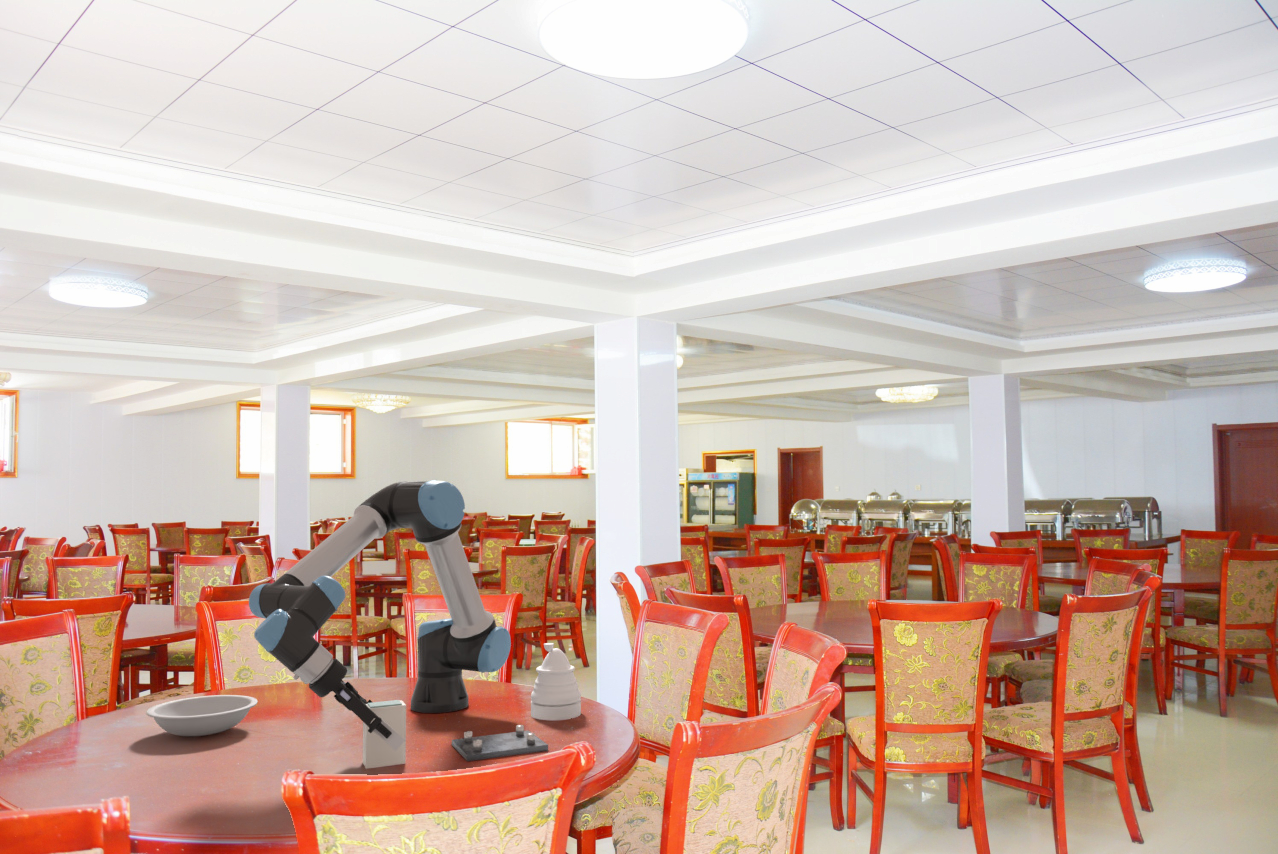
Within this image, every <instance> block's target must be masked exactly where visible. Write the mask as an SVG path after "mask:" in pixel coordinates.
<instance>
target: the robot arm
mask: <svg viewBox="0 0 1278 854" xmlns="http://www.w3.org/2000/svg"><path fill="white" fill-rule="evenodd" d="M465 509H466V504H465V500H464V497H463V494H462V492H461V491H460V490H459V489H458V487H457V486H456V485H454V484H453V483H451V482H449V481H445V480H437V479H432V480H423V481H422V480H417V481H414V480H413V481H398V482H394V483H392V484H389V485H387V486H385V487H383V488H381V489H380V490H378V491H377V492H375V493H374V494H372V495H371V496H370V497H368V498H367V499H365V500H364V501H363V502H362V503H361V504H359V505H358V506H357V507H356V508H354V511H353V516H351V517H350V519H348V520H347V521H346V522H344V523H343V524H342V525H341V526H340V527H338V528H337V529H336V530H334V531H333V533H332V534H331V533H330V535H329V536H328V537H326V538H325V539H324V540H323V541H321V542H320V543H319V544H318V545H316V547H315V548H314V549H312V550H311V551H310V552H308V553H307V554H306V555H305V556H304V557H303V558H301V559H300V560H299V561H298V562H297V563H295V564H294V565H293V566H292V567H290V568H289V569H288V570H287V571H286V572H285V573H283V575H281V576H280V577H279V578H278V579H276V580H275V581H273V582H272V583H271V582H267V583H262V584H259V585H257V586H256V587H254V588H253V589H252V591H251V592H250V593H249V598H248V607H249V610H250V612H251V613H252V615H254V616H256V618H257V617H258V618H260V619H264V620H263V621H262V622H261V623H260V624H259V625H258V626H257V628H256V629H255V631H254V632H253V633H254V634H253V635H254V636H253V637H254V639H255V640H256V641H257V642H258V643H259V645H260V646H261V647H263V649H264V650H265V652H267V653H269V654H270V655H272V656H273V657H274V658H275V659H276V660H277V661H278V662H279V663H280V664H282V665H283V666H284V667H286V668H287V669H288V670H289V671H290V672H291V673H292V674H294V675H293V679H294V680H296V681H297V680H298V679H299V680H300V681H301V682H303V683H304V684H305V685H308V688H309V689H310V690H311V691H312V692H313V693H314V694H315V695H316V696H317V697H319V698H324V697H326V696H328V695H329V694H330V693H332V692H333V693H334V695H333V697H334V698H335V700H336V701H337V702H338V703H339V704H341V705H342V706H344V707H345V708H346V710H348V711H351V712H352V713H353V714H354V715H355V716H357V718H358V719H360V720H361V721H362V723H363V722H364V723H365V724H366V725H367V726H368V727H369V730H368V732H370V733H372V732H373V731H374V732H375V733H376V734H377V735H378V736H379V737H381V738H382V739H383V740H384V741H385V742H386V743H387V744H388V745H390V746H391V747H392V748H393V749H394V750H395V751H396V750H397V749H398V748H399V747H400V746H401V745H402V743H403V742H404V741H405V739H404V738H403V737H401V736H400V735H399V734H398V733H397V732H396V731H395V730H394V729H393V728H391V727H390V726H389V725H388V724H387V723H386V722H385V721H384V720H383V719H382V720H381V718H379V717H378V716H377V715H376V714H375V713H374V712H373V711H372V710H371V709H370V708H369V707H368V706H367V705H366V704H368V703H372V702H373V701H372V700H371V699H369V700H367V699H366V698H364V697H362V695H361V694H360V693H359V692H358V690H357V689H356V688H355V687H354V686H353V685H352V683H350V682H349V681H347V682H345V681H344V680H343V679H344V678H345V677H346V676H347V673H348V668H347V667H346V666H345V665H344V664H342V662H340V661H339V660H338V659H337V658H333V657H334V655H333V654H332V653H331V652H330V651H328V649H327V648H325V646H323V644H321V643H320V642H319V641H317V640H316V638H315V637H314V636H316V634H317V633H318V632H319V630H320V629H321V628H322V627H323V626H324V625H325V623H327V621H328V620H330V618H331V617H332V616H333V615H335V613H336V612H337V611H338V608H339V607H340V606H341V605H342V603H344V601H345V599H346V591H345V589H344V587H343V586H342V584H341V583H340V582H339V581H337V580H336V579H335V578H333V576H334V575H335V574H336V573H338V572H339V570H341V569H342V568H344V566H346V564H347V563H349V562H350V561H351V560H352V559H354V557H355V556H357V555H358V554H359V553H360V552H361V551H362V550H363V549H364V548H366V547H367V546H368V545H369V544H371V542H372V541H373V540H374V539H381V538H382V539H383V537H385V536H386V534H388V533H390V532H392V531H393V530H397V529H412V532H413V535H414V538H415V541H416V542H417V543H418V544H422V545H424V547H425V549H426V553H427V556H428V557H429V560H430V564H431V566H432V569H433V572H434V574H435V576H436V580H437V582H438V585H439V588H440V591H441V594H442V596H443V599H444V601H445V604H446V607H447V610H448V613H449V616H450V617H449V618H444V619H443V618H442V619H436V620H430V621H429V620H428V621H424V622H422V623H421V624H420V625H419V626H418V634H417V680H416V683H415V686H414V689H413V693H412V695H411V699H410V710H411V711H413V712H418V713H425V714H436V713H437V714H440V713H451V712H455V711H460V710H464V709H466V708H468V706H469V694H468V691H467V687H466V685H465V682H464V678H463V671H469V672H470V671H472V672H479V673H495V672H498V671H499V670H500V669H501V668H502V667H503V666H504V665H505V663H506V662H507V660H508V658H509V656H510V652H511V646H512V645H511V644H512V642H511V641H512V640H511V634H510V632H509V631H508V629H507V628H505V627H503V626H498V625H497V622H496V619H495V617H494V615H493V613H492V612H490V611H488V610H485V607H484V604H483V601H482V597H481V596H480V592H479V589H478V587H477V584H476V581H475V578H474V574H473V573H472V569H471V567H470V564H469V561H468V557H467V555H466V553H465V550H464V547H463V543H462V540H461V537H460V535H459V532H460V530H461V528H462V521H463V519H464V516H465V512H464V510H465ZM374 718H375V719H374ZM373 719H374V721H373V722H372V720H373ZM371 722H372V723H371Z"/></svg>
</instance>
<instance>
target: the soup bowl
mask: <svg viewBox="0 0 1278 854" xmlns="http://www.w3.org/2000/svg"><path fill="white" fill-rule="evenodd" d="M257 705H258V699H257V698H256V697H253V696H249V695H239V694H217V695H215V694H213V695H212V694H211V695H200V696H194V697H187V698H186V697H185V698H179V699H174V700H170V701H166V702H162V703H158V704H155V705H153V706H151V707H149V708H148V709H147V710H146V712H145V714H146V715H147V716H148V717H150V718H153V719H154V721H155V723H156V724H157V725H158V727H160V728H161V729H162V730H164V731H165V732H167V733H169V734H172V735H174V736H181V737H201V736H202V737H203V736H207V735H208V736H209V735H215V734H218V733H222V732H225V731H228V730H230V729H232V728H234V727H235V726H237V725H238V724H239V723H241V721H243V720H244V719H245V717H246V716H247V715H248V713H249V712H250V710H251V708H254V707H256V706H257Z"/></svg>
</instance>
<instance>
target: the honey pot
mask: <svg viewBox="0 0 1278 854" xmlns="http://www.w3.org/2000/svg"><path fill="white" fill-rule="evenodd" d="M554 645H555V643H554V642H546V643H545V642H544V643H543V648H544V649H545V651H546V652H548V653H547V654H546V655H545V658H544V659H543V661H542V663H541V665H539V666H537V667H536V668H535V672H536V673H538V674H537V677H536V679H535V681H534V685H533V690H532V692H531V694H530V717H531V718H533V719H536V720H540V721H566V720H571V718H572V719H574V718H575V719H576V718H578V717H580V716H581V714H582V700H581V699H582V698H581V696H582V694H581V690H580V689H579V685H578V680H577V678H576V676H575V674H574V672H575V670H576V667H575V666H574V665H571V664H570V661H569V659H568V657H567V655H566V653H564V652H563V650H561V649H560V648H558V647H556V648H554Z"/></svg>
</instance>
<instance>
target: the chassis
mask: <svg viewBox="0 0 1278 854" xmlns="http://www.w3.org/2000/svg"><path fill="white" fill-rule="evenodd" d="M451 746H452V747H453V748H454V749H455V750H456V751H457V752H458V753H459V755H461V757H463V759H465V760H466V761H467V762H472V761H478V760H481V761H482V760H487V759H495V758H501V757H509V756H516V755H525V754H532V753H539V752H546V751H547V752H548V751H549V744H548V743H546V742H545V741H544V740H543V739H541V738H540V737H539V736H537V735H536V734H535V733H534V732H532V731H530V730H527V729H526V730H525V726H524V725H523V724H517V725H516V726H515V731H513V732H504V733H495V734H488V735H480V736H473V731H471V730H467V731H463V737H461V738H456V739H455V738H454V739H451Z"/></svg>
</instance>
